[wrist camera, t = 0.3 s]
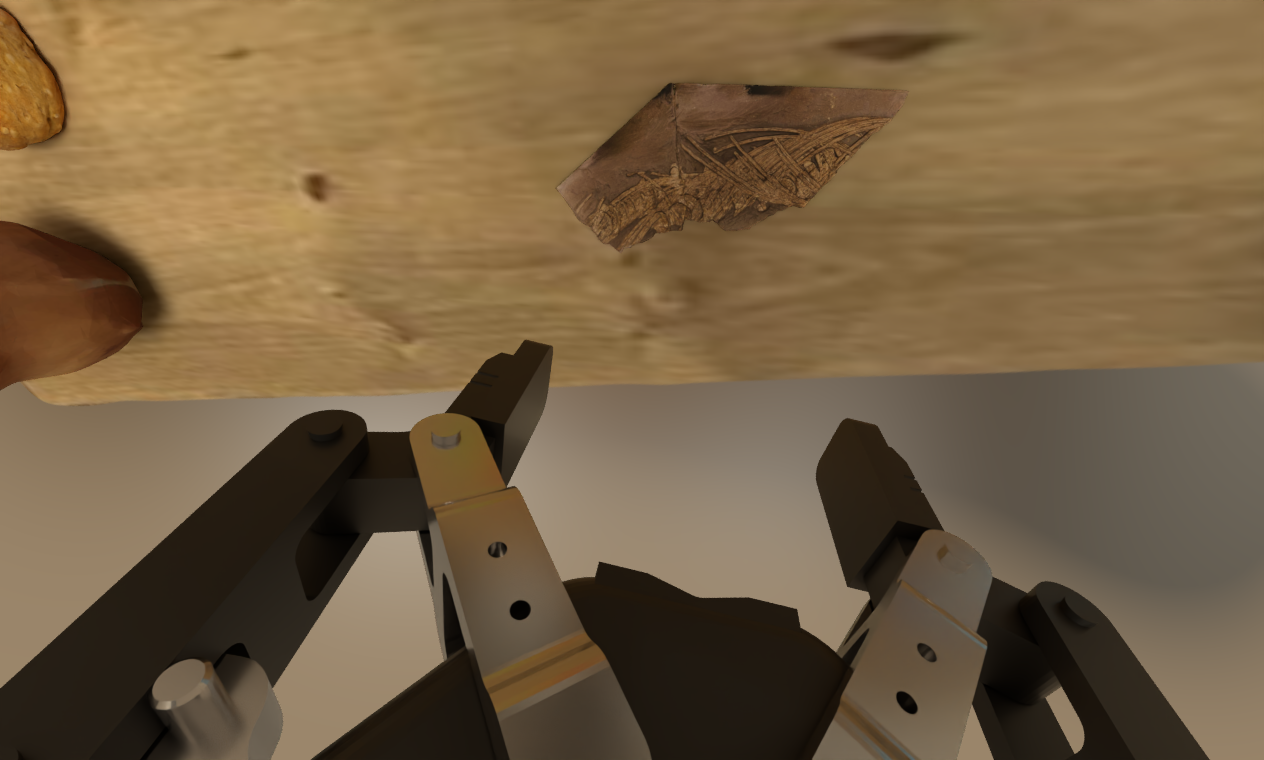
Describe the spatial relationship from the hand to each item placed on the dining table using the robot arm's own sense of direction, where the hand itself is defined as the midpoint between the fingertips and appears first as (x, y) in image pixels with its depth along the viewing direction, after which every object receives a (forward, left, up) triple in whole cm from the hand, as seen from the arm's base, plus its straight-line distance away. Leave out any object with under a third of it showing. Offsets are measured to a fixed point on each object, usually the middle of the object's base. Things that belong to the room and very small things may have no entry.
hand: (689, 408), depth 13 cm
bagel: (+4, -57, -29) cm, 64 cm away
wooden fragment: (-3, +1, -29) cm, 29 cm away
